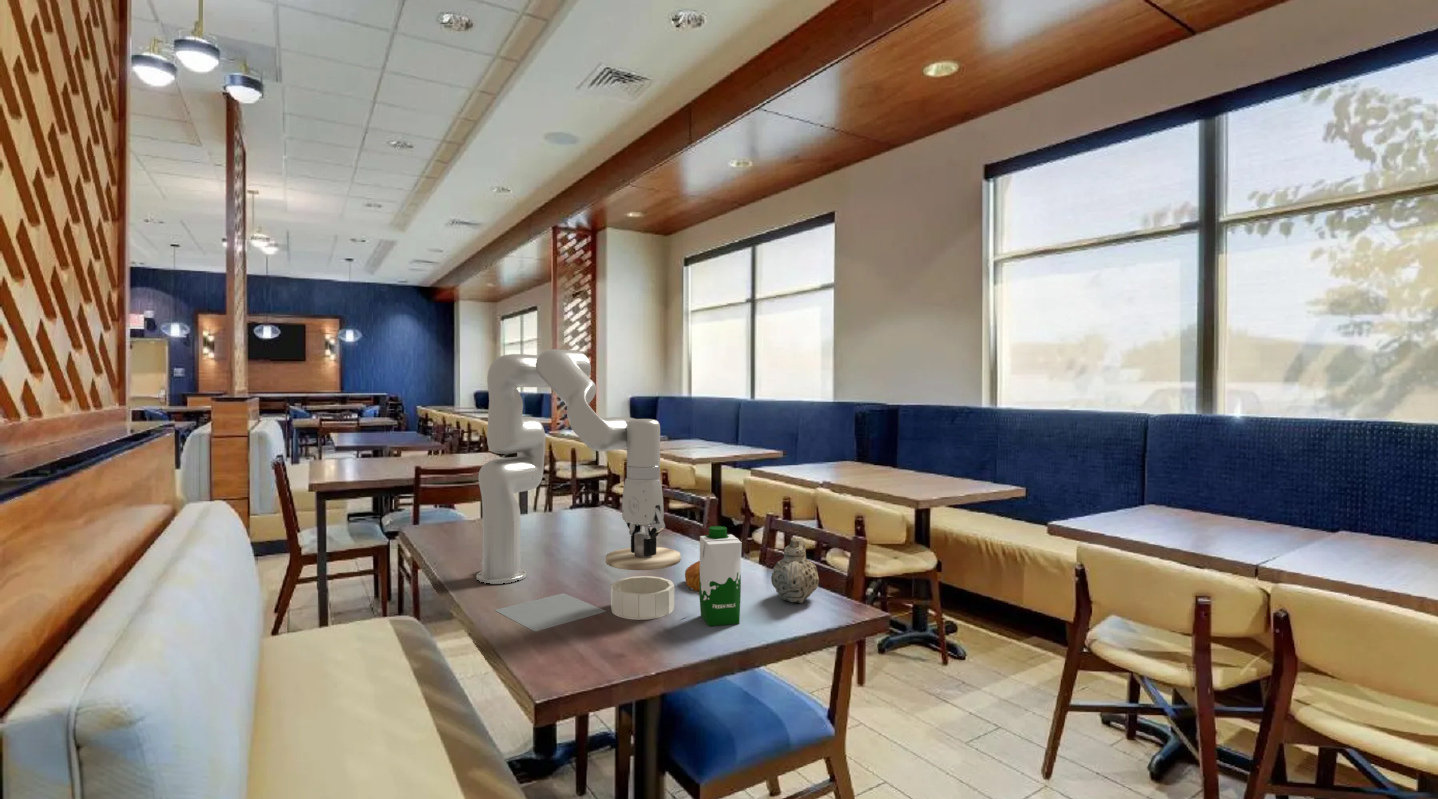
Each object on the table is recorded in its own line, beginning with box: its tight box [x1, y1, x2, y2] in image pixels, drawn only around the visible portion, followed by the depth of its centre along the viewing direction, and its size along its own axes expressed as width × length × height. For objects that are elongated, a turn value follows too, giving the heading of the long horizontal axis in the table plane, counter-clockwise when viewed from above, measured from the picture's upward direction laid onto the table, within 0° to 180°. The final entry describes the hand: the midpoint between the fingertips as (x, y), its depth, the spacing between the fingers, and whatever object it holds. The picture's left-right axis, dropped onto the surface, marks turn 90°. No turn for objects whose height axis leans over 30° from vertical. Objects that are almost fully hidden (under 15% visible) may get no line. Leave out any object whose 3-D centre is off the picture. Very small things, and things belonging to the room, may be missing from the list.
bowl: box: [610, 575, 675, 621], centre depth 155 cm, size 14×14×6 cm
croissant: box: [684, 560, 700, 593], centre depth 176 cm, size 14×16×8 cm
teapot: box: [770, 536, 820, 604], centre depth 165 cm, size 21×12×15 cm, turn 168°
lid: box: [605, 531, 682, 571], centre depth 155 cm, size 17×17×6 cm
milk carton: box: [698, 525, 743, 627], centre depth 150 cm, size 9×9×20 cm
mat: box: [494, 592, 608, 633], centre depth 154 cm, size 18×18×1 cm
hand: (643, 552), depth 155 cm, fingers closed on lid, 4 cm apart
